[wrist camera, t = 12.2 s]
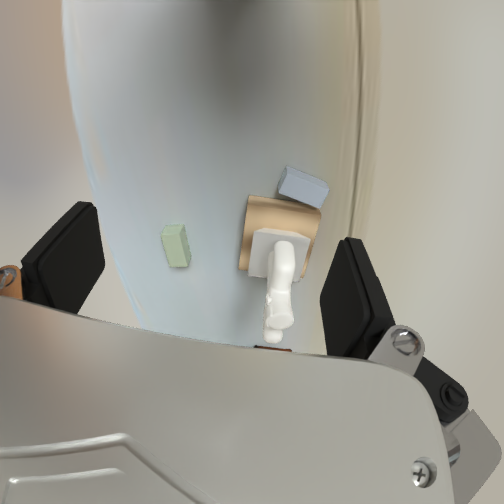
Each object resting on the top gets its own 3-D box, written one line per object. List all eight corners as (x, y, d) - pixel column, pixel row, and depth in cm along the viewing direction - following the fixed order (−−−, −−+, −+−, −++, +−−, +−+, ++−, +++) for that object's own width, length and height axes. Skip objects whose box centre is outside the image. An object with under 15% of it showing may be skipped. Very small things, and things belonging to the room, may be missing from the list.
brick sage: (166, 224, 46) (160, 235, 44) (184, 223, 46) (179, 233, 44) (174, 256, 50) (169, 267, 47) (191, 255, 49) (187, 266, 47)
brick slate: (278, 184, 42) (278, 192, 39) (286, 165, 40) (287, 172, 38) (316, 199, 43) (319, 208, 40) (326, 181, 41) (329, 190, 38)
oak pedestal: (248, 195, 43) (247, 204, 40) (318, 205, 43) (321, 215, 40) (240, 257, 49) (238, 269, 46) (301, 266, 49) (303, 278, 47)
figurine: (309, 217, 41) (325, 293, 28) (295, 271, 46) (302, 352, 34) (256, 209, 41) (249, 284, 28) (248, 265, 46) (239, 346, 34)
